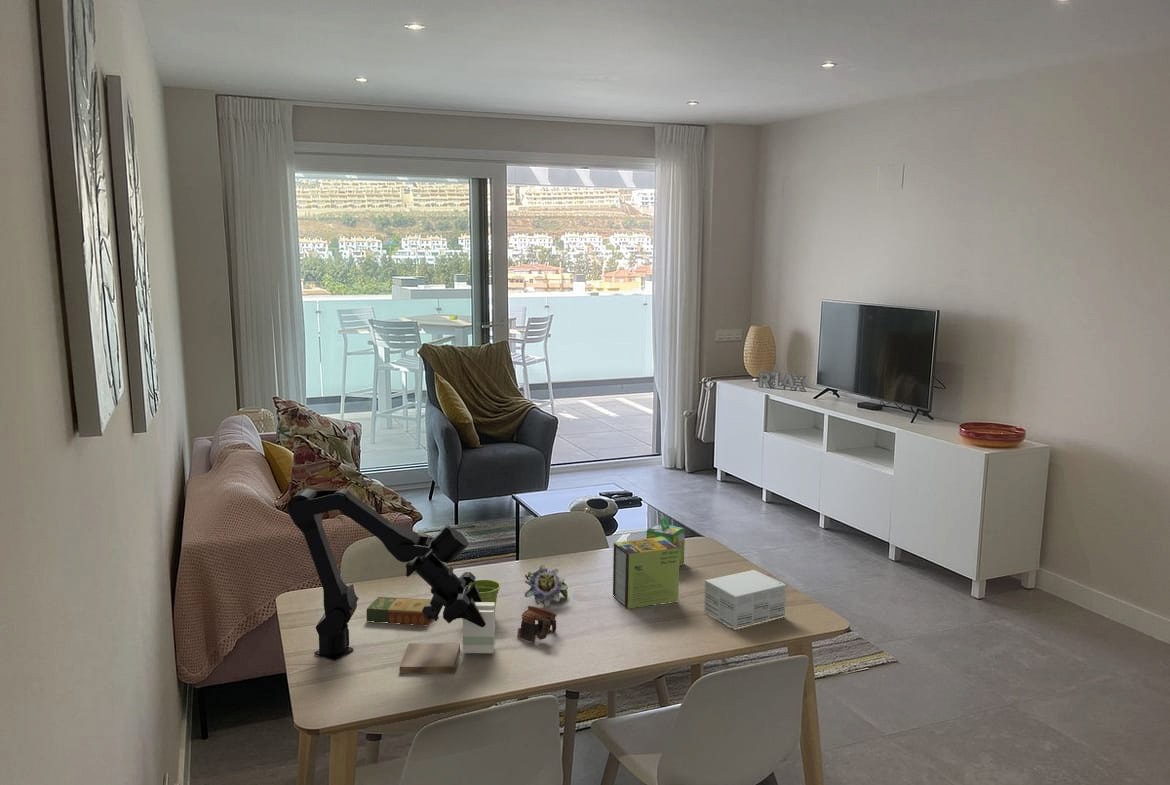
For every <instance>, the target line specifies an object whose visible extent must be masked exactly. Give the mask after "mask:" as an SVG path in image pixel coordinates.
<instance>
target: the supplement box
mask: <svg viewBox="0 0 1170 785" xmlns="http://www.w3.org/2000/svg"><path fill="white" fill-rule="evenodd" d="M786 595H787V584H785V582H782V581H779V580H777V579H776V578H775V579H774V578H773V577H770V576H768V575H766V574H764V573H762V572H760V571H758V570H755V569H751V570H747V571H743V572H738V573H732V574H729V575H728V574H727V575H724V576H723V575H722V576H719V577H714V578H710V579H706V580H704V607H703V609H704V610H703V613H704V612H706V613H707V614H709V615H711V616H713V617H715V618H717V619H718V620H720V621H722V622H724V623H726V624H727V625H729V626H731V627H733V628H738V627H742V626H747V625H751V624H754V623H758V622H762V621H766V620H769V619H773V618H778V617H781V616H785V617H786V598H787V597H786ZM706 613H705V614H706ZM707 614H706V615H707ZM709 615H708V616H709ZM711 616H710V617H711Z"/></svg>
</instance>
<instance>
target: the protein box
mask: <svg viewBox="0 0 1170 785" xmlns="http://www.w3.org/2000/svg"><path fill="white" fill-rule="evenodd" d="M679 552H680V548H679V547H678V546H676V545H675V544H673V543H672V542H670V541H668V540H667V539H665V538H664V537H656V538H648V539H647V538H641V539H634V540H623V541H617V542H613V565H612V568H613V569H612V571H613V572H612V574H613V577H612V596H613V595H614V596H615V597H616V598H617V599H618V600H619V601H620V602H621V603H622V604H623V607H624V608H626V609H627V610H631V609H630V608H632V609H636V608H635V607H640V608H643V607H642V606H647V607H649V606H648V605H654V604H661V603H668V604H670V603H669V602H675V603H677V602H676V601H678V602H679V585H680V584H679V580H680V566H679ZM614 596H613V597H614ZM615 597H614V598H615ZM616 598H615V599H616ZM617 599H616V600H617ZM618 600H617V601H618ZM619 601H618V602H619ZM620 602H619V603H620ZM621 603H620V604H621ZM622 604H621V605H622ZM661 605H662V604H661ZM654 606H655V605H654Z"/></svg>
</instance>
